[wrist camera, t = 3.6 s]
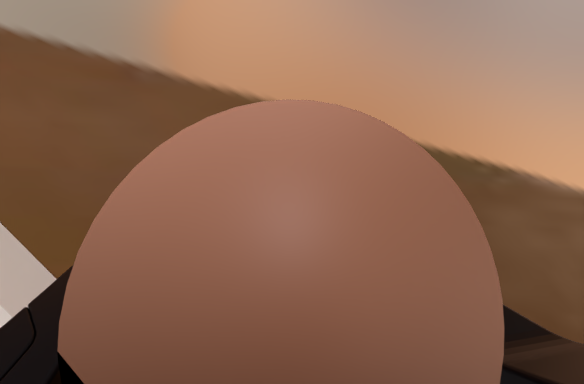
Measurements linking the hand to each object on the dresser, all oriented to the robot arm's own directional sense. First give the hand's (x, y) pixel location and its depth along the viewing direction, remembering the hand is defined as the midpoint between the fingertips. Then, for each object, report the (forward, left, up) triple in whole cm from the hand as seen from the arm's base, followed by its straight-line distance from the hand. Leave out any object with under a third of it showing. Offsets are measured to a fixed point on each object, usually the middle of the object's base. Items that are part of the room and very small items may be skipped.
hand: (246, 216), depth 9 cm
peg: (-1, +1, -7) cm, 7 cm away
